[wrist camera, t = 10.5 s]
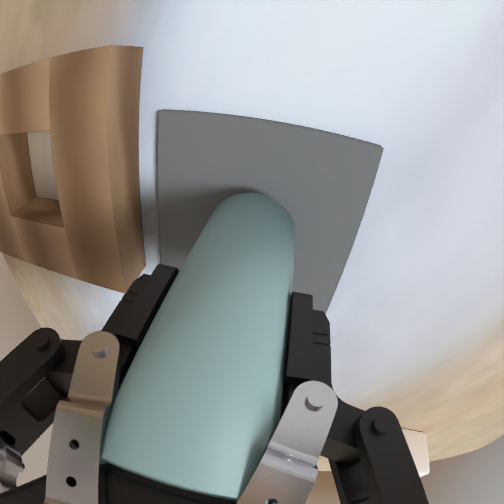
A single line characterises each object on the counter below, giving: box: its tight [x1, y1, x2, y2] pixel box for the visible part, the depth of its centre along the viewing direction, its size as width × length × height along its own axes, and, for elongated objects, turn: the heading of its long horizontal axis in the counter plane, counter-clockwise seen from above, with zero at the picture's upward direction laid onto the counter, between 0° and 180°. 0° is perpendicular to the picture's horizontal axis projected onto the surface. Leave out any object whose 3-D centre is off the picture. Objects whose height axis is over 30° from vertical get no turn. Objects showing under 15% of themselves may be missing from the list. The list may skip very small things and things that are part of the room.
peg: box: [101, 193, 295, 504], centre depth 10 cm, size 4×4×12 cm
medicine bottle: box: [401, 428, 430, 477], centre depth 27 cm, size 7×7×12 cm
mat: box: [158, 109, 384, 314], centre depth 16 cm, size 11×11×1 cm
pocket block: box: [0, 45, 146, 293], centre depth 14 cm, size 14×14×3 cm
